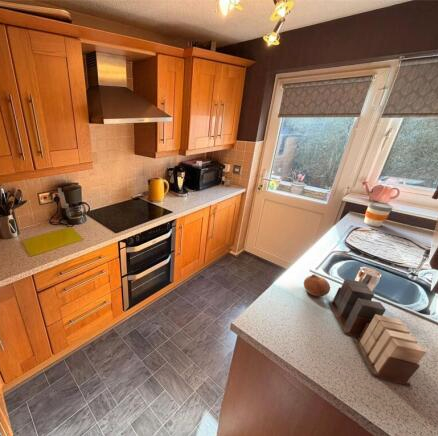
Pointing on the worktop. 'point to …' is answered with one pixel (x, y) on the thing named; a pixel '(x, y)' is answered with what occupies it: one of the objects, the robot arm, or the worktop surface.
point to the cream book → (385, 341)
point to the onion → (316, 286)
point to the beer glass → (368, 277)
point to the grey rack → (355, 307)
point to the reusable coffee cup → (377, 213)
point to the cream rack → (390, 351)
